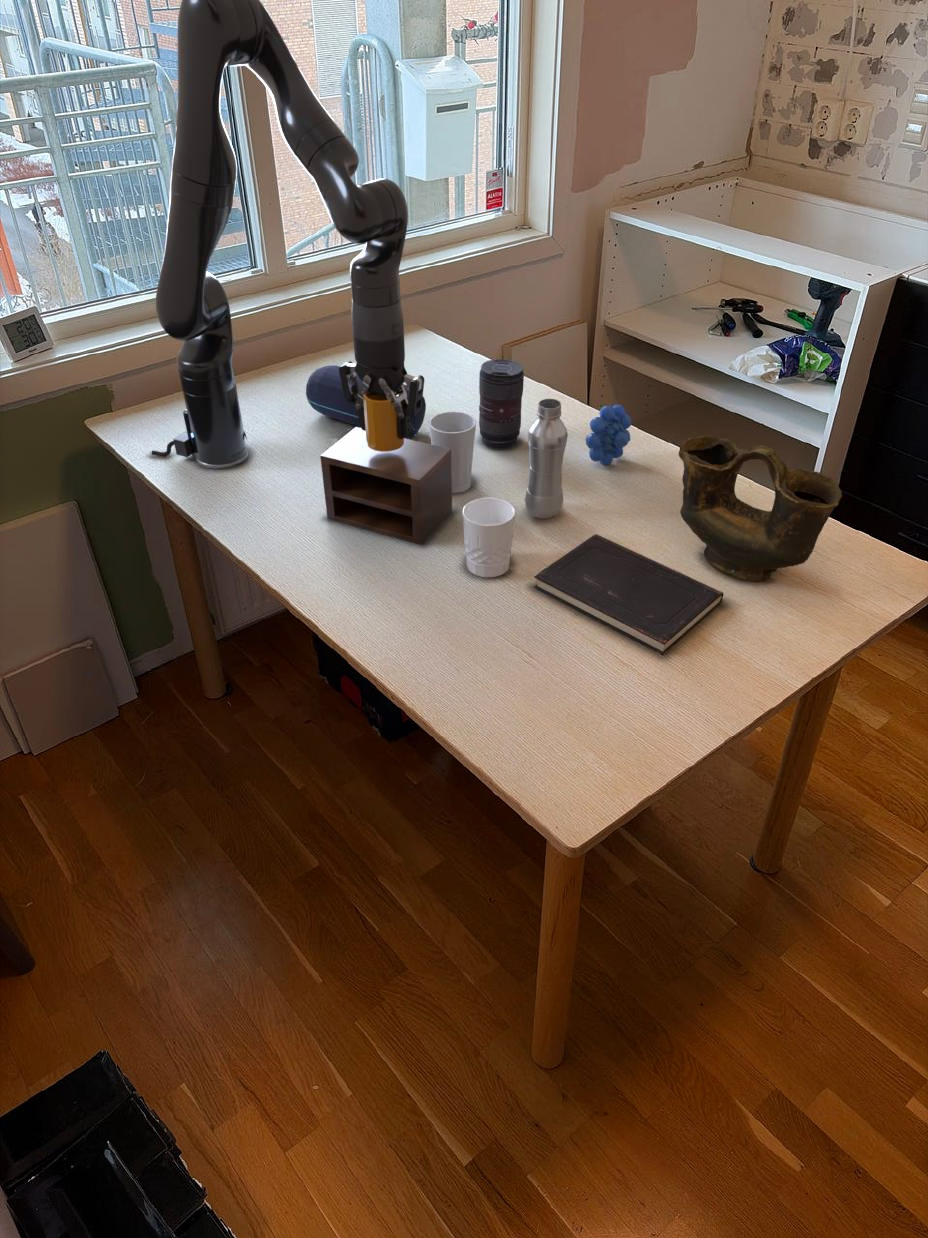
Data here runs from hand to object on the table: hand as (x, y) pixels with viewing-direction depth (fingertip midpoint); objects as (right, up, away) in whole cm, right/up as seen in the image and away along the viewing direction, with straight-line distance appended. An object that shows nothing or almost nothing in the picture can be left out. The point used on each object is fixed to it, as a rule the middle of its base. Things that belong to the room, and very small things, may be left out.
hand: (384, 432), depth 146 cm
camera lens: (+19, +4, +30) cm, 36 cm away
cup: (+11, -6, +18) cm, 22 cm away
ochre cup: (0, -1, +1) cm, 2 cm away
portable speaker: (-6, +8, +36) cm, 37 cm away
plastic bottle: (+26, -12, +10) cm, 30 cm away
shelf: (0, -12, +10) cm, 15 cm away
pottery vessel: (+56, -21, -1) cm, 59 cm away
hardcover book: (+37, -26, -8) cm, 46 cm away
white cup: (+16, -21, -2) cm, 27 cm away
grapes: (+39, -2, +23) cm, 45 cm away
